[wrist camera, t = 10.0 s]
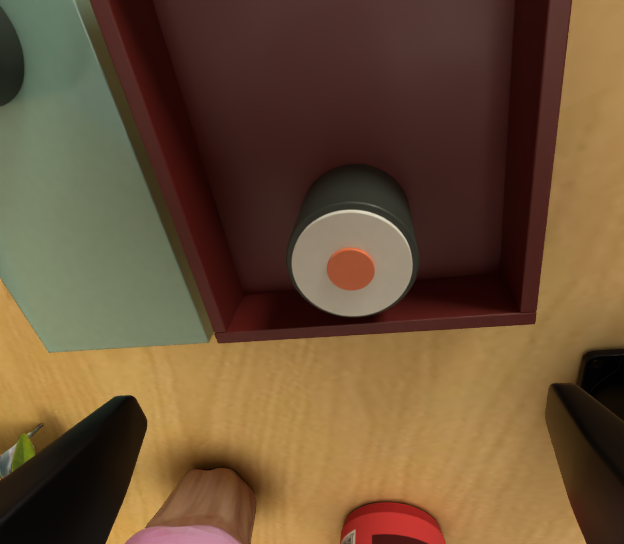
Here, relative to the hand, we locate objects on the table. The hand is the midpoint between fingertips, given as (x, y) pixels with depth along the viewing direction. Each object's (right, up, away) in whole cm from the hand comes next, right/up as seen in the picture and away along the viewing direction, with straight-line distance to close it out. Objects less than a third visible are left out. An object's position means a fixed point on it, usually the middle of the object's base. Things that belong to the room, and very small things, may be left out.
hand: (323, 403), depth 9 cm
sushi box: (+1, +9, +7) cm, 12 cm away
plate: (-12, +8, +10) cm, 18 cm away
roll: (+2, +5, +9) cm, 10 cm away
